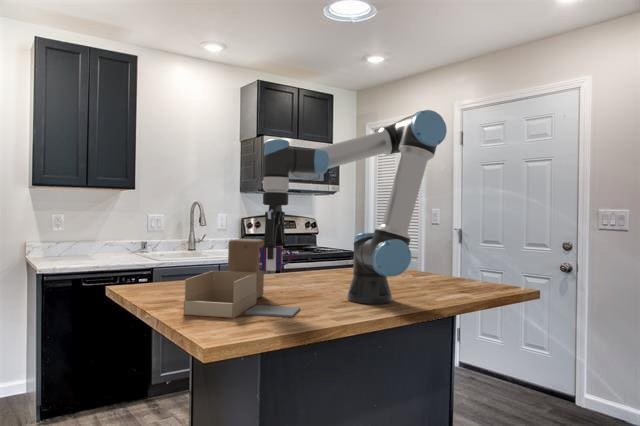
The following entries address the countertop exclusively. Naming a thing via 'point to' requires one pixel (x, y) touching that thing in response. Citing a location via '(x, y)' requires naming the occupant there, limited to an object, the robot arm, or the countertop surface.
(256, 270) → the wooden block
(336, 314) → the countertop surface
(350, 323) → the countertop surface
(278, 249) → the mug
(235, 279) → the carton
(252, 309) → the mat
